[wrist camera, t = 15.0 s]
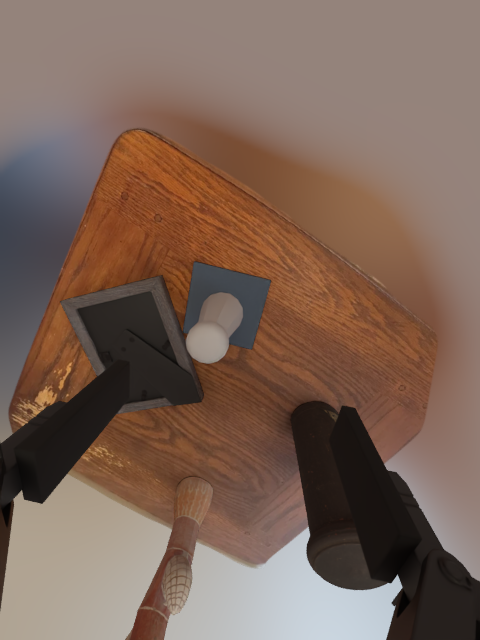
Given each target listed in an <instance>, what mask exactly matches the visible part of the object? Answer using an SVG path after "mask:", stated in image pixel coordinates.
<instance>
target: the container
mask: <svg viewBox="0 0 480 640" xmlns="http://www.w3.org/2000/svg"><path fill="white" fill-rule="evenodd" d="M338 415H339V414H338V412H337V411H336V410H335V409H334V408H333V407H331V406H330V405H328V404H326V403H323V402H308V403H305V404H303V405H301V406H299V407H298V408H297V409H296V410H295V411H294V412H293V414H292V417H291V426H292V432H293V438H294V443H295V449H296V454H297V460H298V465H299V471H300V477H301V483H302V489H303V495H304V500H305V506H306V512H307V518H308V525H309V531H310V538H309V541H308V543H307V558H308V561H309V563H310V565H311V567H312V568H313V570H314V571H315V572H316V573H317V574H318V575H319V576H321V577H322V578H323V579H324V580H326V581H327V582H329V583H331V584H333V585H335V586H338V587H341V588H345V589H352V590H367V589H373V588H377V587H380V586H382V585H385V584H387V583H388V582H383V581H379V580H374V579H371V577H370V573H369V570H368V567H367V564H366V560H365V557H364V554H363V551H362V547H361V544H360V541H359V538H358V534H357V531H356V528H355V525H354V521H353V518H352V515H351V511H350V508H349V505H348V502H347V498H346V495H345V492H344V489H343V485H342V482H341V479H340V476H339V472H338V469H337V466H336V463H335V459H334V456H333V453H332V449H331V446H330V443H329V438H330V435H331V433H332V430H333V428H334V425H335V423H336V420H337V418H338Z"/></svg>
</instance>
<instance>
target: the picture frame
mask: <svg viewBox="0 0 480 640" xmlns="http://www.w3.org/2000/svg"><path fill="white" fill-rule="evenodd" d="M60 303H61V305H62V307H63V309H64V311H65V313H66V315H67V317H68V319H69V321H70V323H71V325H72V327H73V329H74V331H75V333H76V335H77V337H78V339H79V341H80V343H81V345H82V347H83V349H84V351H85V353H86V355H87V357H88V359H89V361H90V363H91V365H92V367H93V369H94V371H95V373H96V375H97V377H98V376H99V375H100V374H101V373H102V372H104V371H105V370H106V369H107V368H108V367H109V366H110V365H112V364H113V363H114V362H115V361H116V360H117V359H120V360H125V361H130V391H129V399H128V400H127V401H126V403H125V404H124V405H123V406H122V408H121V409H120V410H119V411H118V412H117V414H120V413H127V412H133V411H139V410H145V409H152V408H158V407H164V406H170V405H173V406H176V405H184V404H191V403H198V402H202V399H203V396H204V393H203V390H202V387H201V384H200V381H199V379H198V376H197V373H196V370H195V367H194V364H193V361H192V359H191V356H190V354H189V352H188V351H187V347H186V341H185V339H184V336H183V333H182V330H181V327H180V324H179V321H178V319H177V316H176V313H175V310H174V307H173V304H172V301H171V299H170V296H169V293H168V290H167V287H166V284H165V281H164V279H163V276H162V275H160V276H156V277H152V278H148V279H144V280H140V281H136V282H133V283H129V284H125V285H121V286H117V287H113V288H109V289H105V290H101V291H97V292H93V293H89V294H85V295H81V296H77V297H73V298H69V299H66V300H63V301H60Z"/></svg>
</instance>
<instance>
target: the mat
mask: <svg viewBox="0 0 480 640" xmlns="http://www.w3.org/2000/svg"><path fill="white" fill-rule="evenodd" d="M270 283H271V280H268V279H264V278H260V277H256V276H252V275H248V274H244V273H240V272H236V271H232V270H228V269H224V268H220V267H216V266H212V265H208V264H204V263H200V262H196V261H195V262H194V265H193V272H192V278H191V284H190V290H189V296H188V302H187V309H186V315H185V321H184V327H183V333H187V334H188V333H189V330H190V329H191V328H192V327H193V326H194V325H196V324H197V323H198V321H199V316H200V312H201V308H202V305H203V303H204V301H205V300H206V299H207V298H208V297H209V296H210V295H212V294H216V293H220V292H222V293H229V294H231V295H232V296H234V297H235V298H236V299H238V301H239V303H240V304H241V306H242V308H243V318H242V321H241V323H240V326H239V327H238V328H237V329H236V330H235V331H234V332H233V334H232V335H231V336H230V337H229V344H231V345H235V346H239V347H243V348H247V349H251V350H252V347H253V344H254V340H255V337H256V333H257V329H258V326H259V322H260V319H261V315H262V312H263V308H264V304H265V301H266V297H267V294H268V290H269V286H270Z"/></svg>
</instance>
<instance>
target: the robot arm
mask: <svg viewBox="0 0 480 640" xmlns="http://www.w3.org/2000/svg"><path fill="white" fill-rule="evenodd" d="M129 391H130V361H125V360H120V359H117V360H116V361H115V362H114V363H113V364H112V365H110V366H109V367H108V368H107V369H106V370H105V371H104V372H102V373H101V374H100V375H99V376H98V377H97V378H95V379H94V380H93V381H92V382H91V383H90V384H88V385H87V386H86V387H85V388H84V389H83V390H81V391H80V392H79V393H78V394H77V395H76V396H74V397H73V398H72V399H71V400H70V401H69V402H67V403H66V402H62V401H58V402H56V403H54V404H52V405H50V406H48V407H46V408H45V409H44V410H43V411H41V412H40V413H39V414H38V415H37V416H36V417H34V418H33V419H31V420H30V421H29V422H28V424H25V425H24V426H23V427H21V428H20V429H19V430H17V431H16V432H15V433H14V434H12V435H11V436H10V437H9V438H7V439H6V440H5V441H4V442H2V443H0V608H1V601H2V593H3V586H4V578H5V570H6V563H7V554H8V547H9V538H10V531H11V524H12V516H13V508H14V501H13V499H14V498H15V497H16V496H17V495H18V493H19V492H20V491H21V490H22V492H23V497H24V500H28V501H32V502H37V503H41V504H42V503H43V502H44V501H45V500H46V499H47V498H48V496H49V495H50V494H51V493H52V492H53V490H54V489H55V488H56V486H57V485H58V484H59V483H60V482H61V480H62V479H63V478H64V477H65V476H66V474H67V473H68V472H69V471H70V470H71V468H72V467H73V466H74V465H75V464H76V462H77V461H78V460H79V459H80V457H81V456H82V455H83V454H84V453H85V451H86V450H87V449H88V448H89V446H90V445H91V444H92V443H93V442H94V440H95V439H96V438H97V437H98V436H99V434H100V433H101V432H102V431H103V429H104V428H105V427H106V426H107V425H108V423H109V422H110V421H111V420H112V419H113V417H114V416H115V415H116V414H117V412H118V411H119V410H120V409H121V408H122V406H123V405H124V404H125V403H126V401H127V400H128V399H129ZM329 443H330V446H331V449H332V453H333V456H334V459H335V463H336V466H337V469H338V472H339V476H340V479H341V482H342V485H343V489H344V492H345V495H346V498H347V502H348V505H349V508H350V511H351V515H352V518H353V521H354V525H355V528H356V531H357V534H358V538H359V541H360V544H361V547H362V551H363V554H364V557H365V560H366V564H367V567H368V570H369V573H370V577H371V579H374V580H379V581H383V582H388V583H392V581H393V580H394V579H395V577H396V576H397V574H398V576H399V579H400V581H401V584H402V587H403V588H402V589H401V591H400V592H399V593H398V595H397V596H396V597H395V599H394V600H393V602H392V604H393V605H394V606H395V605H396V607H395V610H394V614H393V618H392V621H391V625H390V629H389V632H388V635H387V639H386V640H480V581H477V580H476V579H474V578H472V577H471V575H470V573H469V572H468V571H467V569H466V568H465V567H464V566H463V564H462V563H461V562H459V561H458V560H457V559H456V558H455V557H454V556H453V555H451V554H450V553H448V552H446V551H445V550H444V549H443V547H442V545H441V544H440V542H439V540H438V538H437V537H436V535H435V533H434V531H433V530H432V528H431V526H430V524H429V523H428V521H427V519H426V517H425V515H424V514H423V512H422V510H421V509H420V508H419V505H418V503H417V501H416V499H415V498H414V497H413V494H412V492H411V491H410V489H409V487H408V485H407V484H406V482H405V481H404V480H403V479H402V478H401V477H400V476H399V475H398V474H397V472H392V471H388V470H387V469H386V467H385V465H384V463H383V461H382V459H381V457H380V455H379V454H378V452H377V450H376V448H375V446H374V444H373V442H372V440H371V438H370V436H369V434H368V432H367V430H366V428H365V426H364V424H363V422H362V420H361V419H360V417H359V415H358V413H357V411H356V409H355V408H353V407H348V406H343V405H342V408H341V410H340V413H339V415H338V418H337V420H336V423H335V425H334V428H333V430H332V433H331V435H330V438H329Z"/></svg>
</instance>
